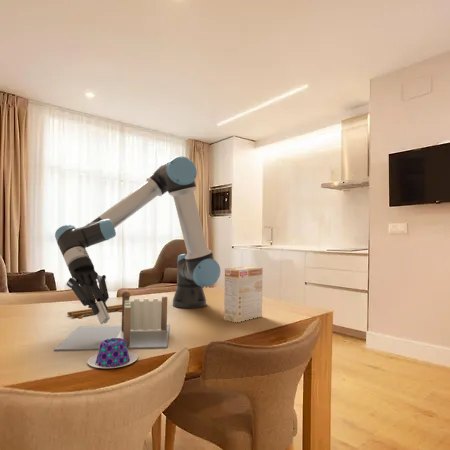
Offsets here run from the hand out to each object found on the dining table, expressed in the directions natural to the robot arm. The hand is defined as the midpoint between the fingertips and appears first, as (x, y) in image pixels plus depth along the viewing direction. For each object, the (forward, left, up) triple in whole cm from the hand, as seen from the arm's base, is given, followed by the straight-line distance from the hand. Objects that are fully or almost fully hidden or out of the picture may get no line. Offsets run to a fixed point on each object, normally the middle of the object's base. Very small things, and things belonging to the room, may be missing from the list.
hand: (105, 321), depth 104 cm
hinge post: (-5, -5, -5) cm, 9 cm away
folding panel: (-7, +4, -4) cm, 9 cm away
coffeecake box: (-47, -21, -5) cm, 52 cm away
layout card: (-4, 0, -5) cm, 6 cm away
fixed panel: (-13, -5, -5) cm, 14 cm away
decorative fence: (+9, -35, -6) cm, 37 cm away
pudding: (-6, +20, -6) cm, 21 cm away
